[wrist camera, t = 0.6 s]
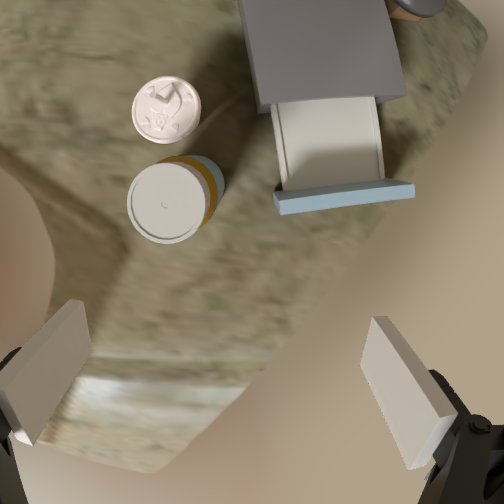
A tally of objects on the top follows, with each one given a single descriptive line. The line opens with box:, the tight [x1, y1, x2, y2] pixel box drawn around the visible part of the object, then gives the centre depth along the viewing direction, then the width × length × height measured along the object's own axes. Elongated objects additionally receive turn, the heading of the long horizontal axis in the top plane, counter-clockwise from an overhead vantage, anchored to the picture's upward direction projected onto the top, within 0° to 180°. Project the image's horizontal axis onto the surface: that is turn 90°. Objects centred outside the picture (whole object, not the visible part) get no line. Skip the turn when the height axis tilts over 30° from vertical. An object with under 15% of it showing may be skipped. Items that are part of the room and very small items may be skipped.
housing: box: [237, 0, 407, 114], centre depth 28 cm, size 18×15×8 cm
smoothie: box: [132, 76, 201, 144], centre depth 28 cm, size 6×6×14 cm
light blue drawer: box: [270, 97, 415, 215], centre depth 31 cm, size 18×14×7 cm
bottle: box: [127, 155, 225, 244], centre depth 30 cm, size 7×7×15 cm
